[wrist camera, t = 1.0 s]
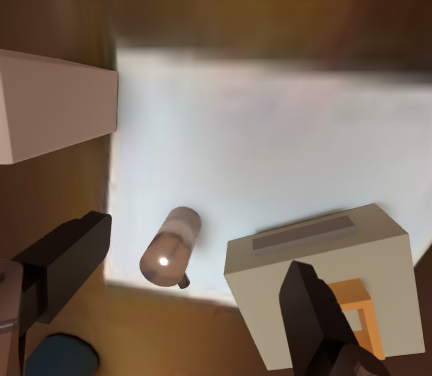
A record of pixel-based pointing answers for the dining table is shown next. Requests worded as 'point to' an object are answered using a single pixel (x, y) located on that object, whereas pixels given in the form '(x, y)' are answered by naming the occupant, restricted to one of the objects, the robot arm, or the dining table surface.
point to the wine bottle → (62, 358)
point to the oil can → (171, 249)
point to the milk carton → (52, 104)
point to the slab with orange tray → (331, 280)
